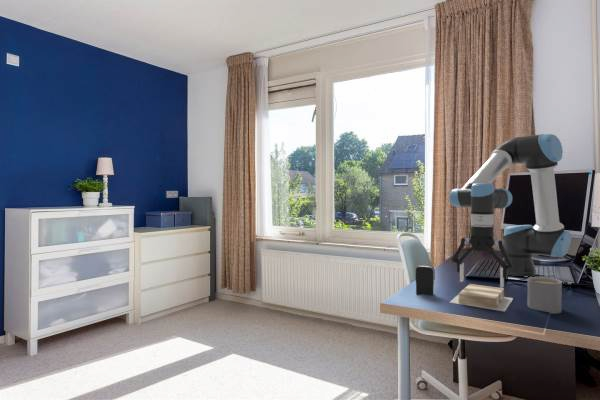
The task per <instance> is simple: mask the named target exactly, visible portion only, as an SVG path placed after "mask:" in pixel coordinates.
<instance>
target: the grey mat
mask: <svg viewBox="0 0 600 400" xmlns="http://www.w3.org/2000/svg"><path fill="white" fill-rule="evenodd" d="M513 299H514V298H513V297H506V296H504V298H503V300H502V301H501V302H500V304H499V305H498V306H497V308H496V309H492V308H486V307H480V306H474V305H468V304H462V303H459V293H458V294H457V295H455V296H454V298H453V299H452V300H450V301H449V303H451V304H457V305H461V306H462V305H463V306H469V307H475V308H481V309H488V310H494V311H499V312H504V313H505V312H506V311H507V310H508V308H509V306H510V304H511V303H512V301H513Z"/></svg>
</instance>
